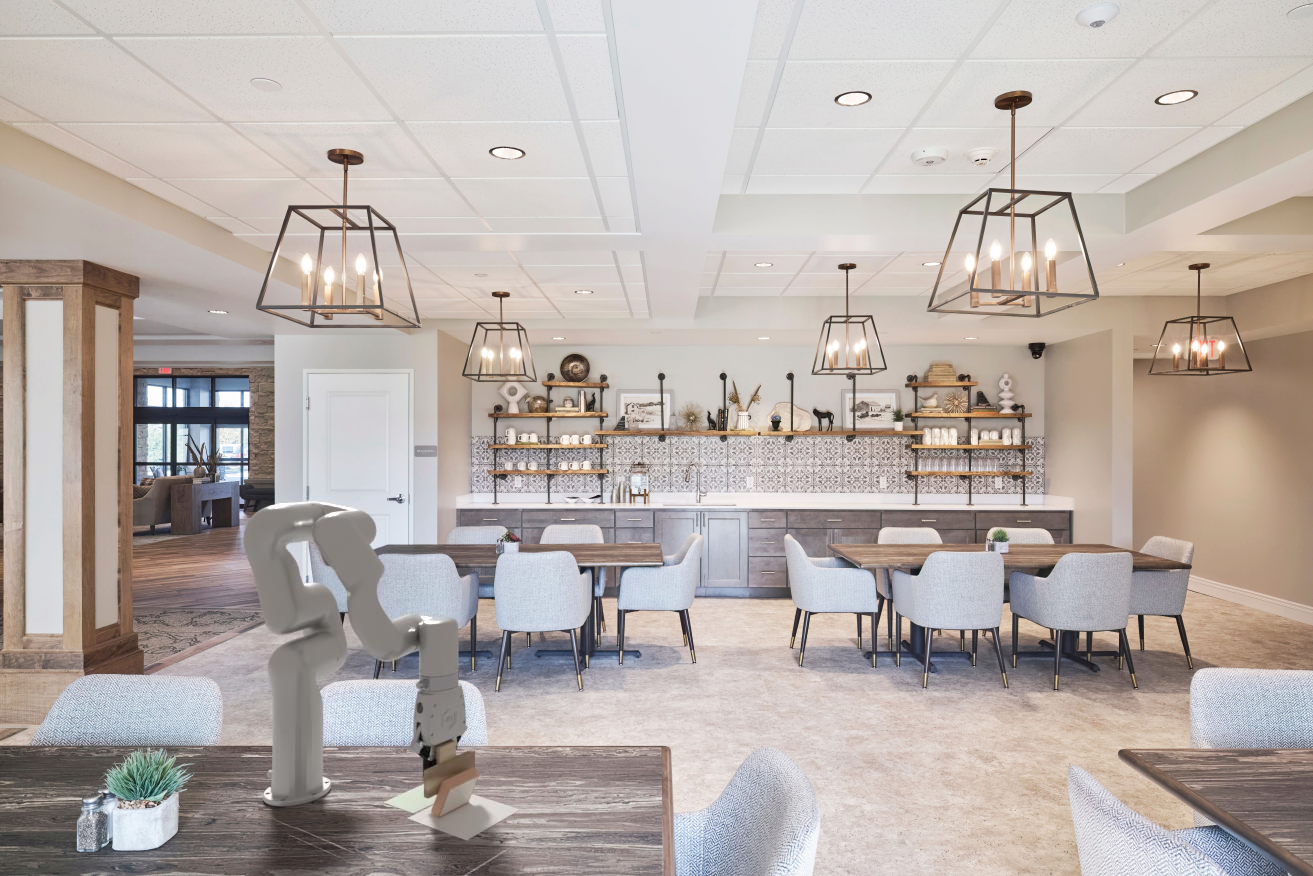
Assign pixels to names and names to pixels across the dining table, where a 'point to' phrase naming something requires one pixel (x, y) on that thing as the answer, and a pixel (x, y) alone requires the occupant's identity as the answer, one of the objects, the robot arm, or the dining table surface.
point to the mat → (466, 817)
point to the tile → (455, 792)
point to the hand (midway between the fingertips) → (439, 773)
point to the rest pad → (412, 800)
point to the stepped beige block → (446, 766)
